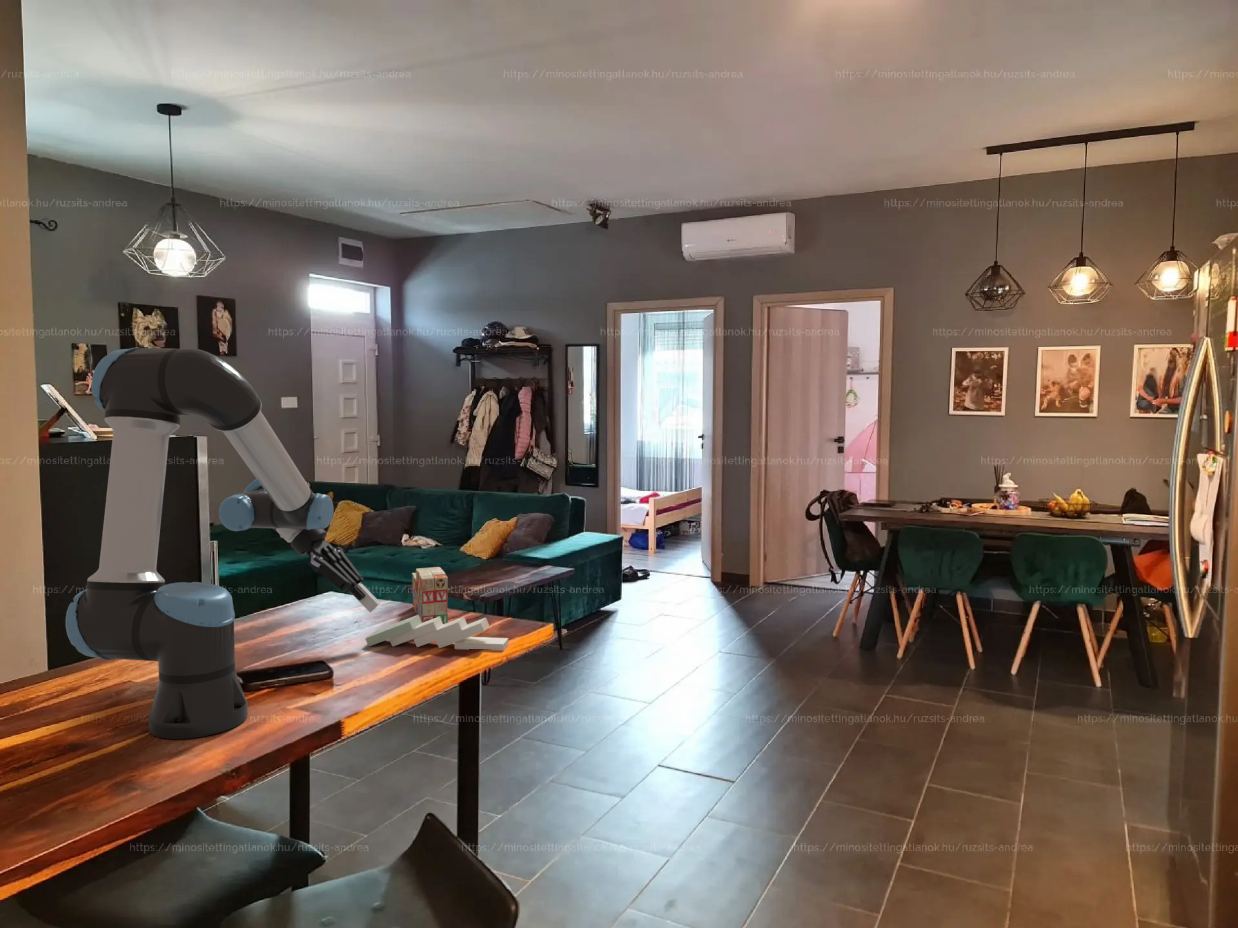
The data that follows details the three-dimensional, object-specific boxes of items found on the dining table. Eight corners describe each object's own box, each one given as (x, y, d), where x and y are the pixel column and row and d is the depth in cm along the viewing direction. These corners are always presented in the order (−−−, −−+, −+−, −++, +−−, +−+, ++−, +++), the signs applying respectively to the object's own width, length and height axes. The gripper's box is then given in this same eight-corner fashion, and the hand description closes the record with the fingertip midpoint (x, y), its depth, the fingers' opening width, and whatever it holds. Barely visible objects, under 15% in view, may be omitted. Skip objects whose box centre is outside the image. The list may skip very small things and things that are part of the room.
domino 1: (388, 638, 186) (433, 621, 185) (396, 632, 190) (439, 616, 189) (392, 646, 186) (436, 629, 185) (399, 640, 191) (443, 624, 189)
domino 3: (435, 640, 185) (480, 622, 184) (441, 634, 189) (485, 617, 188) (439, 648, 185) (484, 631, 184) (445, 642, 189) (489, 625, 188)
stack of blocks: (412, 607, 221) (411, 561, 220) (436, 605, 223) (435, 559, 222) (422, 628, 201) (421, 578, 200) (448, 626, 203) (447, 576, 202)
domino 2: (413, 639, 185) (458, 621, 184) (420, 633, 190) (463, 616, 188) (417, 647, 185) (461, 630, 184) (423, 641, 190) (467, 624, 189)
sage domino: (365, 638, 186) (409, 621, 184) (375, 630, 192) (418, 614, 190) (368, 646, 186) (412, 629, 184) (378, 638, 192) (421, 622, 190)
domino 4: (454, 642, 185) (503, 644, 184) (460, 636, 189) (508, 638, 188) (454, 651, 185) (503, 652, 184) (460, 645, 189) (508, 646, 188)
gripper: (305, 539, 195) (375, 611, 195) (277, 549, 182) (352, 626, 182) (326, 517, 194) (397, 589, 194) (299, 525, 181) (375, 603, 181)
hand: (375, 607), depth 188 cm, fingers closed
